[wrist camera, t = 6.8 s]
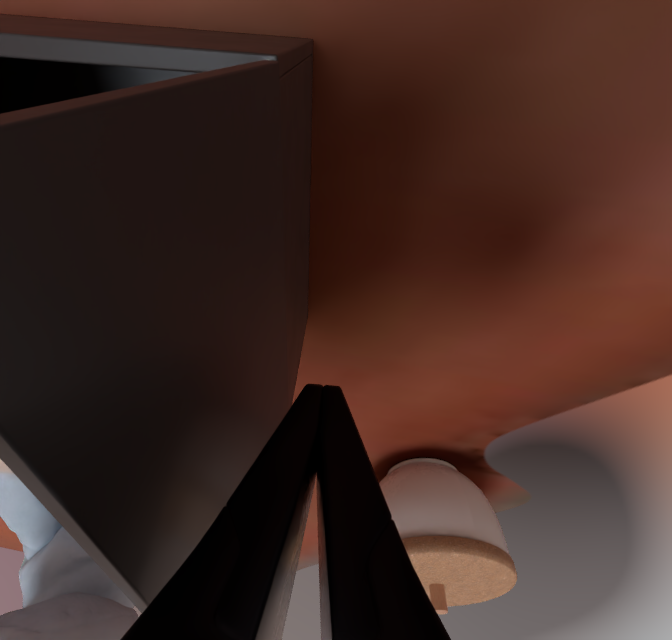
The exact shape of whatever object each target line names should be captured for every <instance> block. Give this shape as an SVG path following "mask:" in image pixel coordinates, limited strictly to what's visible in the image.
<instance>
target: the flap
mask: <svg viewBox="0 0 672 640" xmlns="http://www.w3.org/2000/svg"><path fill="white" fill-rule="evenodd" d="M288 410H289V402H288V366H287V329H286V293H285V256H284V220H283V184H282V147H281V111H280V74H279V62H278V61H273V60H260V61H255V62H250V63H246V64H241V65H236V66H231V67H226V68H221V69H216V70H211V71H207V72H202V73H197V74H192V75H187V76H182V77H177V78H172V79H168V80H163V81H158V82H153V83H148V84H143V85H138V86H134V87H129V88H124V89H119V90H114V91H109V92H104V93H99V94H95V95H90V96H85V97H80V98H75V99H70V100H65V101H60V102H56V103H51V104H46V105H41V106H36V107H31V108H26V109H22V110H17V111H12V112H7V113H2V114H0V459H1V460H2V461H3V462H4V463H5V464H6V465H7V466H8V467H9V469H10V470H11V471H12V472H13V473H14V474H15V475H16V476H17V477H18V478H19V479H20V481H21V482H22V483H23V484H24V485H25V486H26V487H27V488H28V489H29V490H30V492H31V493H32V494H33V495H34V496H35V497H36V498H37V499H38V500H39V501H40V502H41V504H42V505H43V506H44V507H45V508H46V509H47V510H48V511H49V512H50V513H51V514H52V516H53V517H54V518H55V519H56V520H57V521H58V522H59V523H60V524H61V525H62V526H63V528H64V529H65V530H66V531H67V532H68V533H69V534H70V535H71V536H72V537H73V539H74V540H75V541H76V542H77V543H78V544H79V545H80V546H81V547H82V548H83V549H84V551H85V552H86V553H87V554H88V555H89V556H90V557H91V558H92V559H93V560H94V561H95V563H96V564H97V565H98V566H99V567H100V568H101V569H102V570H103V571H104V572H105V573H106V575H107V576H108V577H109V578H110V579H111V580H112V581H113V582H114V583H115V584H116V586H117V587H118V588H119V589H120V590H121V591H122V592H123V593H124V594H125V595H126V596H127V598H128V599H129V600H130V601H131V602H132V603H133V604H134V605H135V606H136V607H137V608H138V609H139V611H140V612H141V613H143V611H144V610H145V609H146V608H147V607H148V605H149V604H150V603H151V602H152V601H153V599H154V598H155V597H156V596H157V594H158V593H159V592H160V591H161V590H162V588H163V587H164V586H165V585H166V584H167V582H168V581H169V580H170V579H171V578H172V576H173V575H174V574H175V573H176V571H177V570H178V569H179V568H180V566H181V565H182V564H183V563H184V561H185V560H186V559H187V558H188V556H189V555H190V554H191V552H192V551H193V550H194V549H195V547H196V546H197V545H198V543H199V542H200V540H201V539H202V538H203V536H204V535H205V533H206V532H207V531H208V529H209V528H210V526H211V525H212V523H213V522H214V521H215V519H216V518H217V516H218V515H219V513H220V512H221V510H222V509H223V507H224V506H227V505H226V503H227V501H228V500H229V498H230V497H231V495H232V494H233V493H234V491H235V490H236V488H237V487H238V485H239V484H240V482H241V481H242V479H243V478H244V476H245V475H246V473H247V472H248V470H249V469H250V467H251V466H252V464H253V463H254V461H255V460H256V458H257V457H258V455H259V454H260V452H261V451H262V449H263V448H264V446H265V445H266V443H267V442H268V440H269V439H270V437H271V436H272V434H273V433H274V431H275V430H276V428H277V427H278V425H279V424H280V422H281V421H282V419H283V418H284V416H285V415H286V413H287V412H288Z"/></svg>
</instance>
